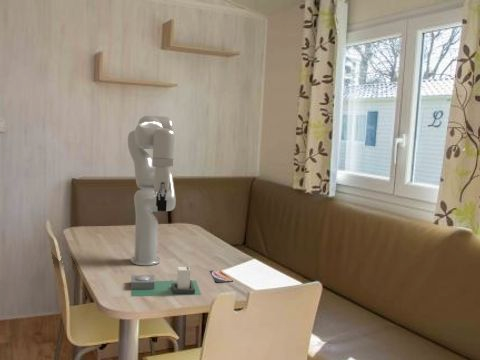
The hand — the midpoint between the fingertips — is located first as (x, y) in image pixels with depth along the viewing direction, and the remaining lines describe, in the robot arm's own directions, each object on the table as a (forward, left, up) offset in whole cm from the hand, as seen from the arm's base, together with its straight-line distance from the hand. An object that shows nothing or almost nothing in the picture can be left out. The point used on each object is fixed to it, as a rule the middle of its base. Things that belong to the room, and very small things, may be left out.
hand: (161, 208), depth 186 cm
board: (+10, +2, -28) cm, 30 cm away
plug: (+13, +8, -27) cm, 31 cm away
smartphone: (-6, +24, -29) cm, 38 cm away
